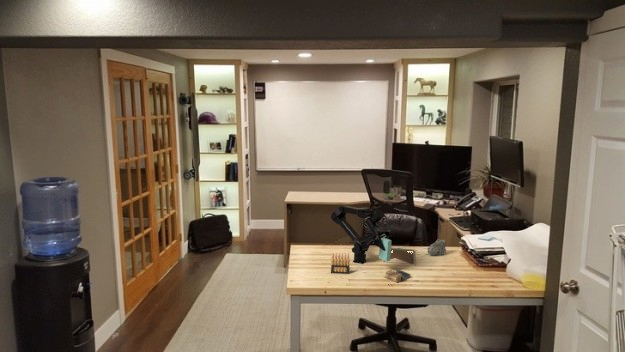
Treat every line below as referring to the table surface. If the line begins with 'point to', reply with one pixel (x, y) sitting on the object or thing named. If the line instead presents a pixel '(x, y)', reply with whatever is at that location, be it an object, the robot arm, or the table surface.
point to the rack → (404, 275)
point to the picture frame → (403, 255)
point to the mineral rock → (437, 247)
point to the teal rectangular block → (387, 253)
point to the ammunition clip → (339, 267)
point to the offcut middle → (392, 276)
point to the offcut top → (394, 274)
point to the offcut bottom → (393, 279)
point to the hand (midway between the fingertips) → (386, 249)
